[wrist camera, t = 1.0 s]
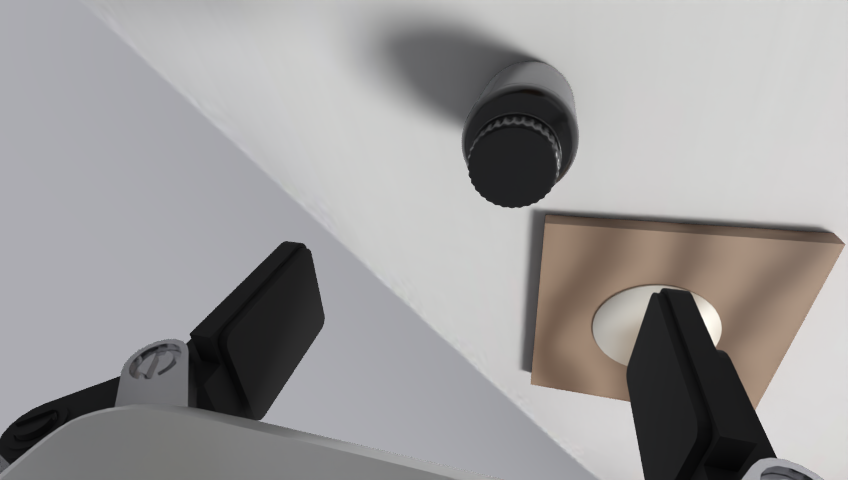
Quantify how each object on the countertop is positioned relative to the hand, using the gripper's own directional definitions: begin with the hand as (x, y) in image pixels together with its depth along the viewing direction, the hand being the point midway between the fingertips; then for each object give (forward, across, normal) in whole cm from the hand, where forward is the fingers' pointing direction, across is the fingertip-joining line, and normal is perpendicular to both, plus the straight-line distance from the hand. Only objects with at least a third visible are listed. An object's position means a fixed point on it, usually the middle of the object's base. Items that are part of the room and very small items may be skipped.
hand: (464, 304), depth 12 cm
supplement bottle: (+24, -1, +1) cm, 24 cm away
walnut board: (+24, -14, +19) cm, 33 cm away
